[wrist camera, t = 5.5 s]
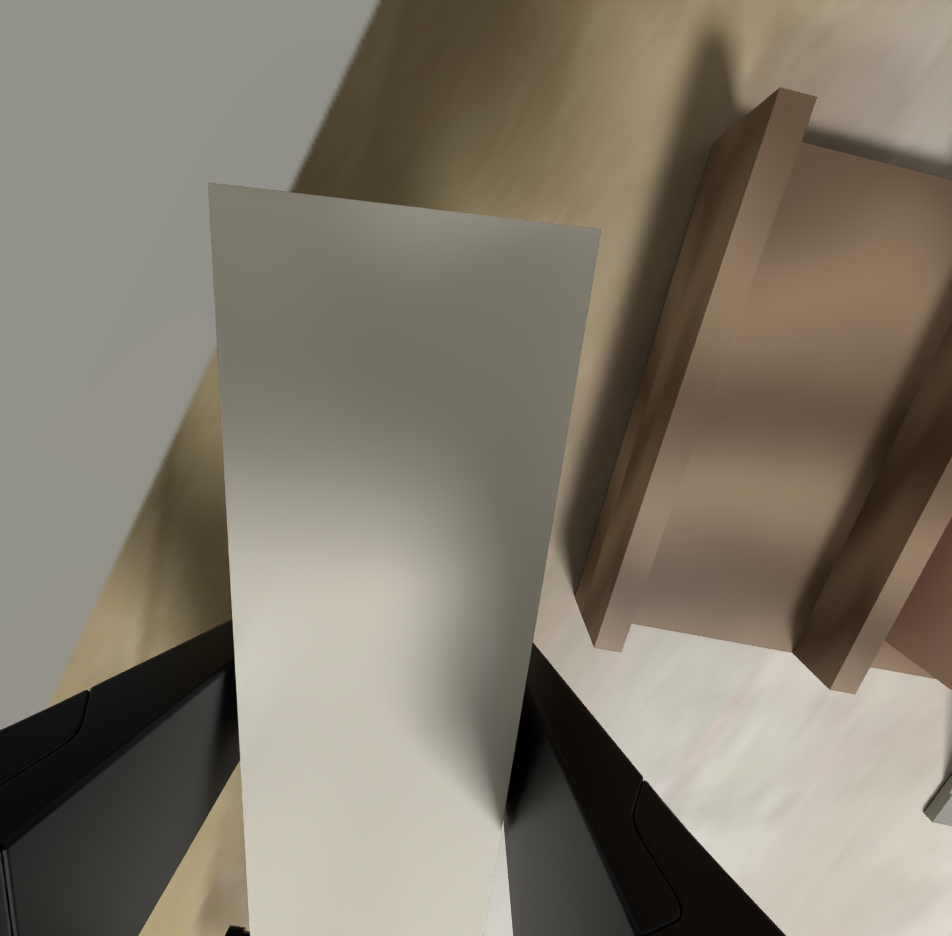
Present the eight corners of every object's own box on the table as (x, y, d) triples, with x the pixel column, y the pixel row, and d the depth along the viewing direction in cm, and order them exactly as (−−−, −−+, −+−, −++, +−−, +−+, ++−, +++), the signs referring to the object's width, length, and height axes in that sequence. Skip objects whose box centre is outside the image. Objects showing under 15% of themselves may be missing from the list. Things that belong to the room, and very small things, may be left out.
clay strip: (469, 819, 12) (466, 1039, 8) (325, 808, 12) (255, 1025, 8) (544, 280, 8) (601, 228, 5) (333, 256, 8) (209, 182, 4)
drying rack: (981, 672, 20) (1075, 733, 17) (574, 597, 19) (593, 647, 16) (1234, 272, 15) (1427, 254, 12) (713, 142, 14) (779, 87, 11)
